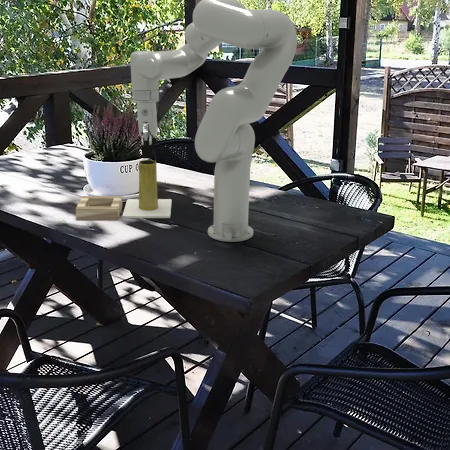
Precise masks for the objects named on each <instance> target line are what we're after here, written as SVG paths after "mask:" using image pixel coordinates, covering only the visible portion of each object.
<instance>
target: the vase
mask: <svg viewBox="0 0 450 450" xmlns="http://www.w3.org/2000/svg"><path fill="white" fill-rule="evenodd" d="M157 175H158V174H157V161H156V160H153V159H143V160H139V162H138V199H139V206H138V207H139V208H140V209H142V210H154V209H157V208H158V207H159V206H158V199H159V198H158V196H159V195H158V179H157V177H158V176H157Z"/></svg>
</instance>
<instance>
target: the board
mask: <svg viewBox="0 0 450 450" xmlns="http://www.w3.org/2000/svg"><path fill="white" fill-rule="evenodd" d="M172 202H173V201H172V199H171V198H166V199H165V198H164V199H163V198H158V206H159V207H158V208H157V209H154V210H142V209H140V208H139V207H138V206H139V198H135V199H134V198H127V200H126V203H125V206H124V209H123V212H122V214H121V215H122V217H121V218H122V219H171V212H172Z"/></svg>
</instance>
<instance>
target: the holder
mask: <svg viewBox="0 0 450 450" xmlns="http://www.w3.org/2000/svg"><path fill="white" fill-rule="evenodd" d="M122 209H123V196H122V195H82V196H81V198H80V200H79V202H78V204H77V206H76V207H75V219H76V221H119V219H120V217H121V216H120V215H121V213H122Z"/></svg>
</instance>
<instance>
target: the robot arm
mask: <svg viewBox="0 0 450 450" xmlns="http://www.w3.org/2000/svg"><path fill="white" fill-rule="evenodd" d="M297 35H298V34H297V30H296V27H295V24H294V22H293V21H292V19H291V18H290V17H289V16H288V15H287V14H285V13H284V12H282V11H279V10H276V9H247V8H246V7H245V6H244V5H243V4H242V3H241V2H240V1H239V0H200V1H199V2H198V3H197V4H196V5H195V7H194V9H193V12H192V22H191V23H190V24H188V25H187V26H186V28H185V30H184V38H185V41H186V43H185V44H184V45H182V46H181V47H180V48H177V49H172V50H160V51H157V50H156V51H152V50H151V51H150V50H136V51H133V52H131V53H130V58H129V59H130V62H129V63H130V78H131V93H132V96H131V97H132V102H134V103H136V109H137V110H136V111H137V124H138V126H137V127H138V133H139V134H138V135H139V136H140V137H141V144H140V145H141V146H140V149H141V150H140V151H141V159H143V160H145V159H154V152H155V150H156V146H155V145H156V143H155V141H156V140H155V137H156V136H157V135H158V132H159V131H158V117H157V115H158V114H157V112H158V111H157V104H156V103H157V102H159V101H160V99H159V98H160V95H159V94H160V93H159V81H162V80H168V79H178V78H184V77H186V76H188V75H189V74H191V73H192V72H194V71H195V70H196V69H198V68H200V67H201V66H202V65H203V64H204V63H205V62H206V61H207V58H208V56H209V53H210V52H212V51H213V50H215V49H216V48H217V47H218V46H219V45H221V44H223V43H224V44H227V45H230V46H233V47H236V48H239V49H259V48H262V49H261V50H260V51H259V53H258V54H257V55H256V56H255V58H254V59H253V60H252V61H251V63H250V65H249V67H248V68H247V71H246V73H245V75H244V77H243V79H242V80H241V82H240V83H239V84H237V85H234V86H228V87H224V88H222V89H221V90H219V91H218V92H216V93H215V94H214V96H213V97H212V98H211V100H210V101H209V103H208V106H207V108H206V111H205V113H204V115H203V117H202V120H201V122H200V124H199V127H198V128H197V131H196V134H195V137H194V148H195V149H194V150H195V152H196V154H197V157H199V158H200V159H201V160H202V161H204V162H206V163H215V167H214V176H213V177H214V180H213V184H214V185H213V224H212V225H210V226H209V227H208V229H207V235H208V236H209V237H210V238H212V239H213V240H217V241H221V242H227V243H229V242H230V243H232V242H233V243H235V242H243V241H244V242H245V241H246V240H249V239H251V238H252V237H253V236H254V229H253V228H252V227H251V226H249V205H250V181H251V165H252V158H253V153H254V149H255V142H256V134H255V131H254V129H253V127H252V125H251V124H252V123H255V122H257V121H260V120H261V119H262V118H263V117H264V115H265V113H266V112H267V110H268V107H269V106H270V104H271V101H272V100H273V98H274V97H275V94H276V92H277V90H278V88H279V86H280V84H281V82H282V80H283V78H284V76H285V74H286V73H287V71H288V70H289V68H290V66H291V64H292V62H293V60H294V57H295V56H296V51H297V45H298V36H297Z"/></svg>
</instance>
